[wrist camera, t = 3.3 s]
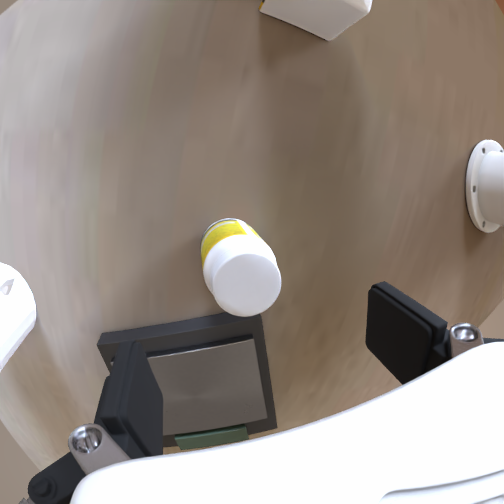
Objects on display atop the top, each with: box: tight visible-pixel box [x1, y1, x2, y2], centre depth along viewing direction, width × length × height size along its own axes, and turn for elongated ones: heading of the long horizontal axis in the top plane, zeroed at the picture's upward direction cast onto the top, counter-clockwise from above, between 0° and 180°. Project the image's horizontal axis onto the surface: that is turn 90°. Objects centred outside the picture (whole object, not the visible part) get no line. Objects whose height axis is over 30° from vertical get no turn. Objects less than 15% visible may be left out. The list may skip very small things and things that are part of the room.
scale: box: [97, 312, 277, 450], centre depth 26 cm, size 15×16×3 cm
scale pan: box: [111, 334, 267, 435], centre depth 25 cm, size 13×11×1 cm
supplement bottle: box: [200, 219, 281, 317], centre depth 20 cm, size 5×5×8 cm
